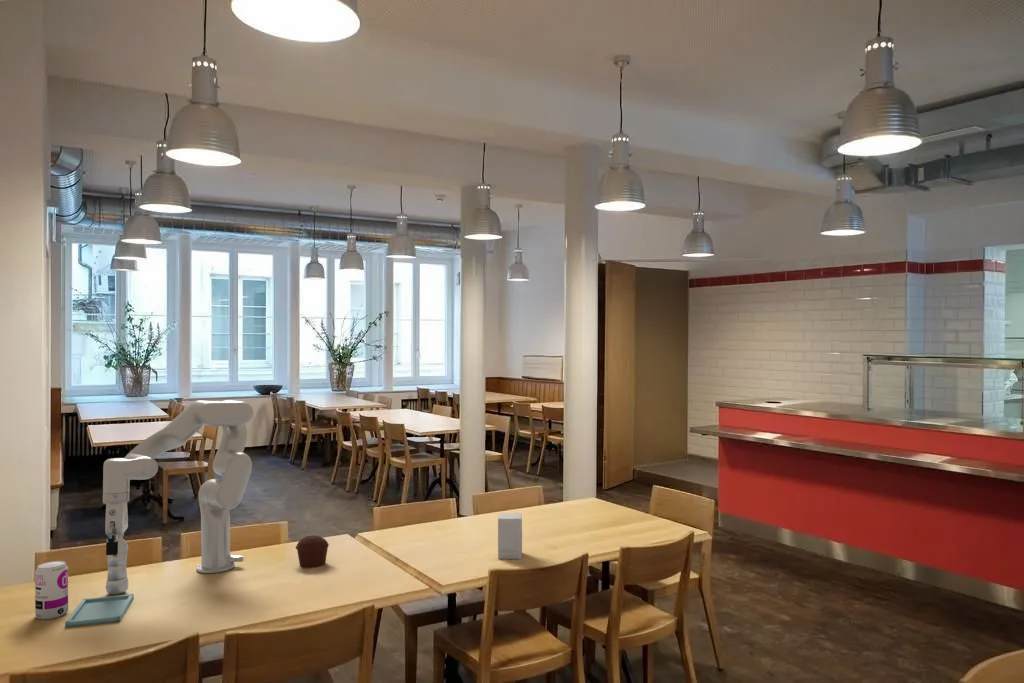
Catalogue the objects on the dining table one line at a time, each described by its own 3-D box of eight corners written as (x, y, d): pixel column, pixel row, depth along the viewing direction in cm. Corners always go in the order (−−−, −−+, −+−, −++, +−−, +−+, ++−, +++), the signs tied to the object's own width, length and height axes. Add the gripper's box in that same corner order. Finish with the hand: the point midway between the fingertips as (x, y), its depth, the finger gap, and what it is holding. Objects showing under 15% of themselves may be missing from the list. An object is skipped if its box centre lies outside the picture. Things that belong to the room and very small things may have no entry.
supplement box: (522, 559, 268) (521, 518, 268) (497, 559, 269) (497, 518, 269) (522, 552, 278) (522, 512, 278) (498, 552, 278) (498, 512, 278)
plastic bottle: (103, 598, 230) (102, 534, 230) (109, 591, 237) (108, 529, 237) (125, 595, 232) (125, 533, 232) (130, 589, 239) (130, 527, 239)
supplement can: (73, 609, 221) (73, 560, 221) (57, 620, 212) (57, 568, 212) (46, 610, 220) (46, 560, 220) (29, 620, 212) (28, 568, 212)
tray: (133, 598, 230) (133, 593, 230) (120, 621, 211) (120, 616, 211) (83, 603, 226) (83, 598, 226) (65, 627, 206) (65, 622, 206)
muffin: (333, 560, 269) (333, 532, 269) (322, 569, 258) (322, 541, 258) (302, 559, 270) (302, 532, 270) (290, 568, 259) (290, 540, 259)
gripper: (123, 501, 227) (122, 557, 227) (134, 491, 244) (133, 543, 244) (96, 503, 225) (95, 558, 225) (109, 492, 242) (108, 544, 241)
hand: (115, 550), depth 234 cm, fingers open, 9 cm apart
